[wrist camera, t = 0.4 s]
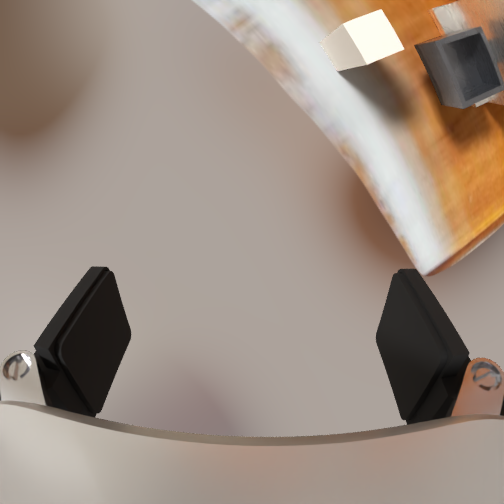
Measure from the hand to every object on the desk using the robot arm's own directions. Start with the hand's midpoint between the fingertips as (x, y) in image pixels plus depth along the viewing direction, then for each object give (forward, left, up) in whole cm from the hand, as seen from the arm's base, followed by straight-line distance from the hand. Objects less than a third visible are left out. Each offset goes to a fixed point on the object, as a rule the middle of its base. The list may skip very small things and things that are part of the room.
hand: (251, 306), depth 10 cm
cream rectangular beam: (-14, -6, -29) cm, 33 cm away
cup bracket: (-28, 0, -29) cm, 40 cm away
